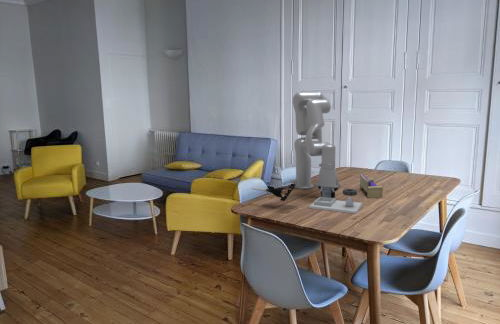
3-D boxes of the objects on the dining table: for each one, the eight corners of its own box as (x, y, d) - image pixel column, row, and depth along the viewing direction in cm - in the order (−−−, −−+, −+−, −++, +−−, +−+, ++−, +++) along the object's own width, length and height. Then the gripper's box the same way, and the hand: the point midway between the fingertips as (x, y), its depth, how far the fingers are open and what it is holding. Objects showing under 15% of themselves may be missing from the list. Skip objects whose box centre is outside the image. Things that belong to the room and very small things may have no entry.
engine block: (322, 199, 216) (322, 188, 215) (325, 197, 221) (325, 185, 220) (330, 200, 214) (331, 188, 212) (333, 198, 219) (333, 186, 218)
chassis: (309, 208, 201) (309, 197, 200) (318, 200, 215) (318, 190, 214) (356, 213, 190) (356, 202, 189) (362, 205, 204) (362, 194, 203)
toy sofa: (383, 198, 217) (383, 180, 215) (367, 198, 218) (368, 180, 216) (373, 189, 238) (373, 172, 236) (359, 189, 238) (359, 173, 237)
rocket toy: (284, 190, 193) (244, 185, 205) (284, 202, 195) (244, 197, 206) (295, 184, 206) (257, 180, 217) (295, 195, 207) (257, 191, 218)
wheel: (341, 195, 197) (341, 191, 196) (344, 191, 203) (344, 188, 202) (355, 196, 194) (355, 192, 193) (357, 193, 199) (358, 189, 199)
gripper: (311, 166, 215) (311, 198, 218) (341, 168, 207) (341, 201, 210) (315, 164, 221) (315, 195, 224) (345, 166, 214) (344, 197, 217)
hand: (327, 197), depth 217 cm, fingers closed on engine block, 5 cm apart
